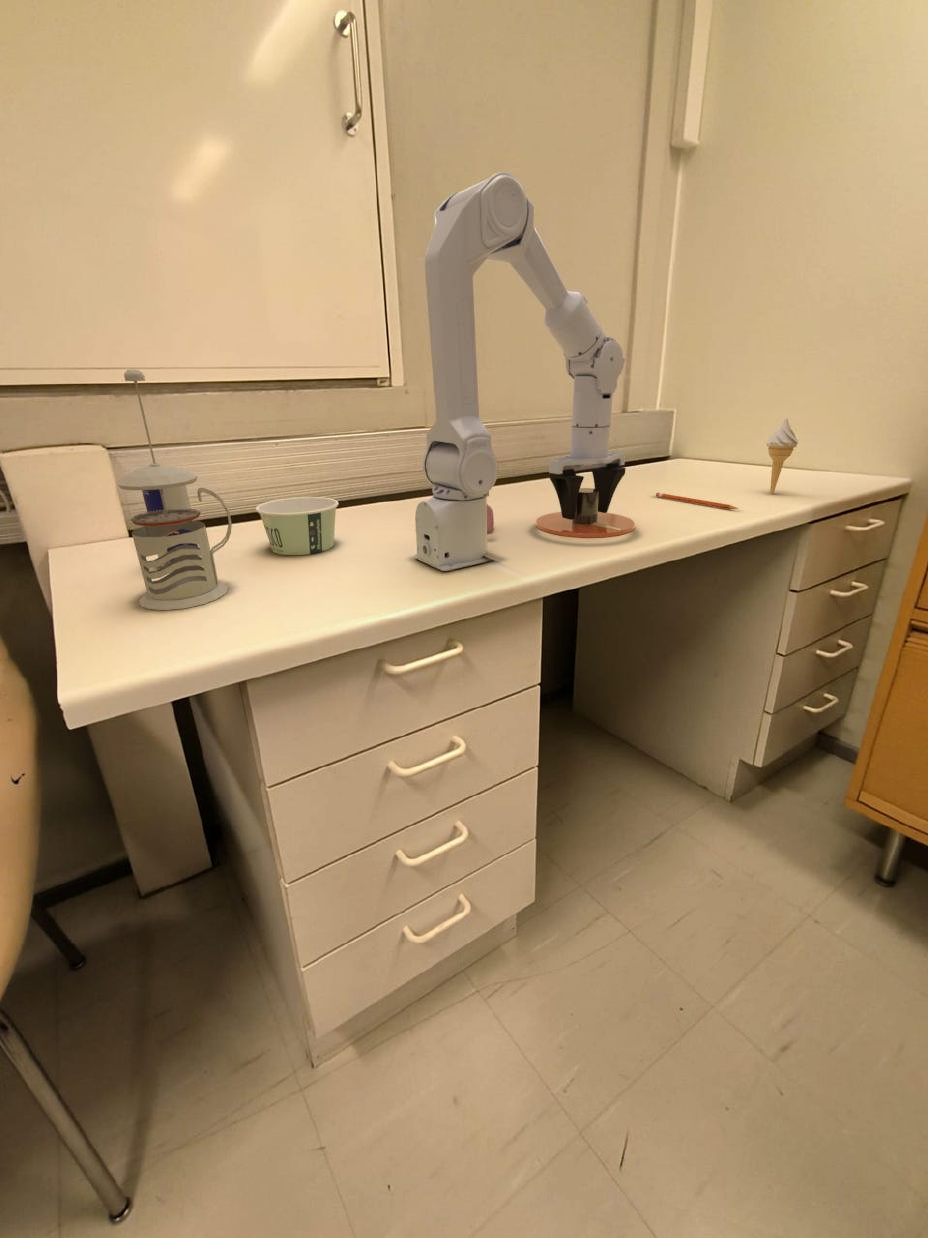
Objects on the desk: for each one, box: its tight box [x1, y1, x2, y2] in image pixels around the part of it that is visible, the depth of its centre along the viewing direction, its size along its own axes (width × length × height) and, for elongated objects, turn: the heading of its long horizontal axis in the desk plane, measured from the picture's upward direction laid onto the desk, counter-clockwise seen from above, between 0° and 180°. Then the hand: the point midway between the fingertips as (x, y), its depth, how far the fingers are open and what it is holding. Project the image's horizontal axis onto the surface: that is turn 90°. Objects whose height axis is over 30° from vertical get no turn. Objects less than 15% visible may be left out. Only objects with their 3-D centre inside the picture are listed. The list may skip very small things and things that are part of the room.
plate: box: [535, 487, 636, 539], centre depth 90 cm, size 16×16×6 cm
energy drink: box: [141, 485, 202, 567], centre depth 77 cm, size 5×5×12 cm
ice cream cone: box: [766, 417, 799, 495], centre depth 114 cm, size 6×6×15 cm
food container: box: [255, 496, 339, 556], centre depth 85 cm, size 12×12×7 cm
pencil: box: [655, 492, 740, 510], centre depth 109 cm, size 1×18×1 cm, turn 36°
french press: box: [116, 368, 233, 611], centre depth 64 cm, size 10×12×25 cm
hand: (585, 515), depth 91 cm, fingers open, 7 cm apart
